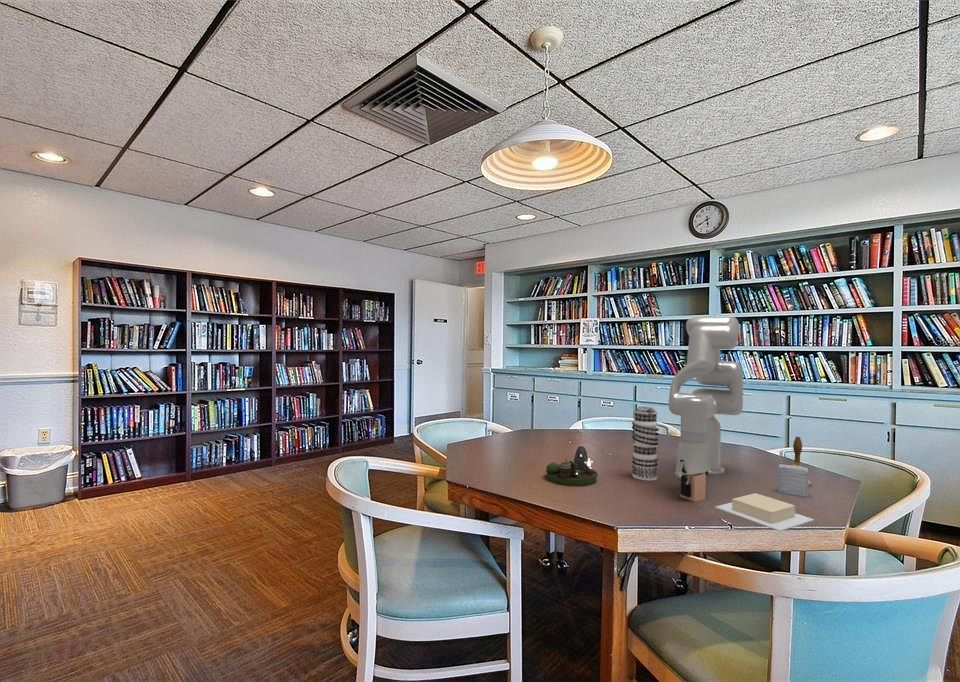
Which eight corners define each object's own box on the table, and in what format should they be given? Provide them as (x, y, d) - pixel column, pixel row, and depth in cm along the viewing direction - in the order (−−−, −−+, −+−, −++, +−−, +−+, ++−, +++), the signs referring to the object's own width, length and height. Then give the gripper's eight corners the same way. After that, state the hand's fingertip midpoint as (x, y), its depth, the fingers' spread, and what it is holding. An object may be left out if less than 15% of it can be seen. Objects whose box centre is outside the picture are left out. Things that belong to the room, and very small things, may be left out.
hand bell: (783, 477, 163) (784, 433, 163) (812, 481, 158) (812, 436, 157) (781, 482, 156) (782, 437, 156) (810, 487, 151) (811, 440, 151)
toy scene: (607, 479, 158) (608, 449, 158) (578, 491, 146) (579, 458, 146) (565, 468, 171) (565, 440, 171) (535, 478, 159) (536, 448, 159)
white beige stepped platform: (715, 509, 131) (715, 496, 131) (748, 501, 138) (749, 488, 138) (780, 534, 115) (780, 518, 115) (814, 523, 122) (814, 508, 122)
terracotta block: (680, 497, 141) (680, 472, 141) (691, 495, 143) (691, 470, 143) (694, 502, 136) (694, 476, 136) (705, 500, 138) (705, 474, 138)
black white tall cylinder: (626, 473, 166) (627, 405, 165) (651, 472, 166) (652, 405, 166) (637, 481, 156) (638, 409, 156) (662, 480, 157) (663, 409, 157)
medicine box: (807, 494, 145) (807, 467, 145) (808, 498, 141) (808, 470, 141) (778, 489, 149) (778, 463, 149) (778, 493, 146) (778, 466, 146)
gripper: (701, 432, 147) (700, 486, 147) (664, 436, 139) (663, 494, 139) (722, 436, 140) (721, 494, 140) (685, 442, 132) (684, 502, 132)
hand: (692, 493), depth 140 cm, fingers open, 5 cm apart
